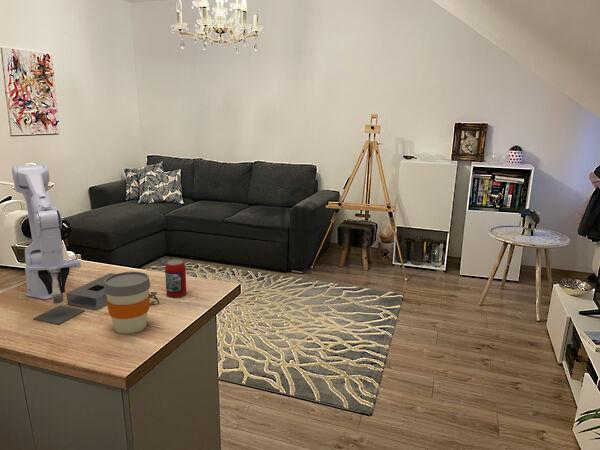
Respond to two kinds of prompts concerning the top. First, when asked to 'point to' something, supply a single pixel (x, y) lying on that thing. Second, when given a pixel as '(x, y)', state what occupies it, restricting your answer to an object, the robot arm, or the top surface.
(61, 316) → the rubber mat
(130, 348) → the top surface
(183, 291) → the beverage can
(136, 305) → the reusable coffee cup
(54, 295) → the steel pin
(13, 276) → the top surface
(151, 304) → the wooden post with brackets
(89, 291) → the block
